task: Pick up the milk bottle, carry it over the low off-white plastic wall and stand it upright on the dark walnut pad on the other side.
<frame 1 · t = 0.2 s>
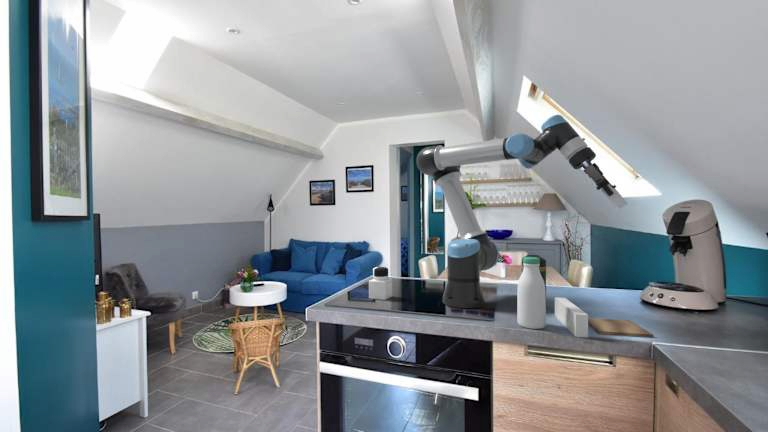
hand: (622, 205, 108), 35 cm above the table, tool tilted 35°, fingers open, 13 cm apart
milk bottle: (531, 326, 103), on the table
coffee jar: (533, 308, 122), on the table
low wall: (569, 325, 103), on the table
medicine bottle: (380, 298, 138), on the table
walnut pad: (615, 328, 100), on the table
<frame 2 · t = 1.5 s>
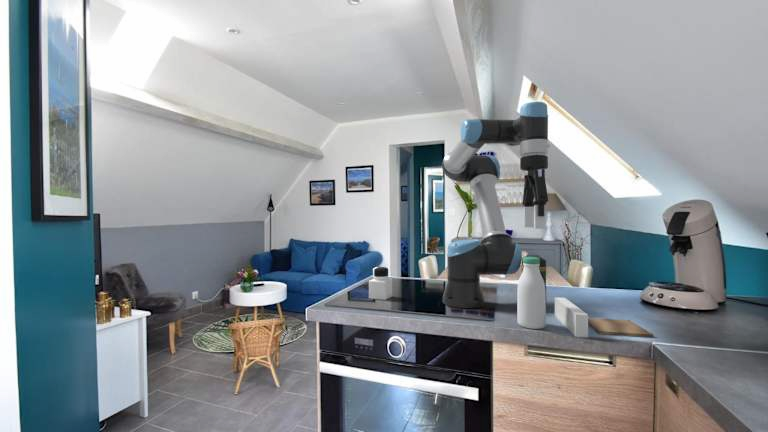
hand: (534, 228, 103), 29 cm above the table, tool pointing down, fingers open, 13 cm apart
nothing on the table moved.
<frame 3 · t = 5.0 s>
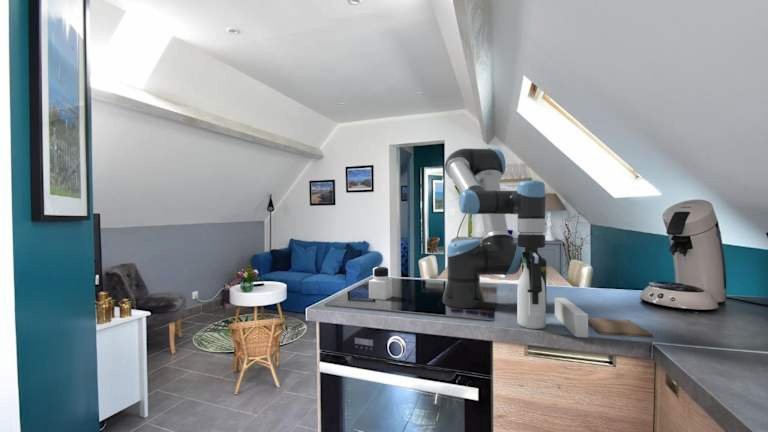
hand: (531, 311, 103), 4 cm above the table, tool pointing down, fingers closed on milk bottle, 8 cm apart
milk bottle: (531, 326, 103), on the table, touching gripper
coffee jar: (533, 308, 122), on the table, touching arm
everything else where it was.
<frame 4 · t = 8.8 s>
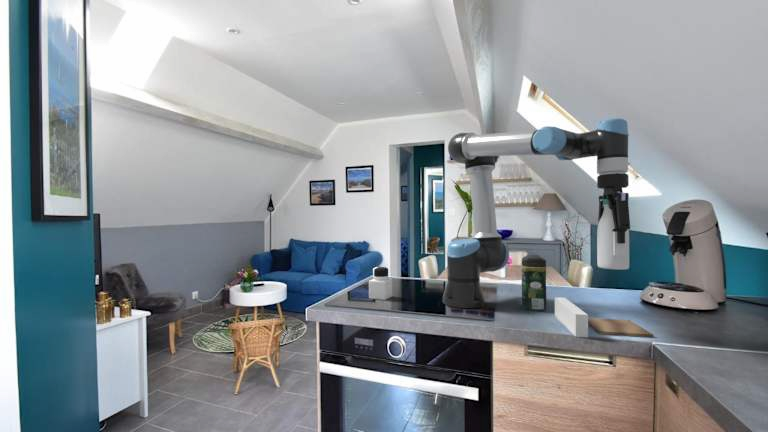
hand: (613, 253, 100), 21 cm above the table, tool pointing down, fingers closed on milk bottle, 8 cm apart
milk bottle: (613, 269, 100), point 17 cm above the table, touching gripper
coffee jar: (533, 308, 122), on the table
everything else where it was.
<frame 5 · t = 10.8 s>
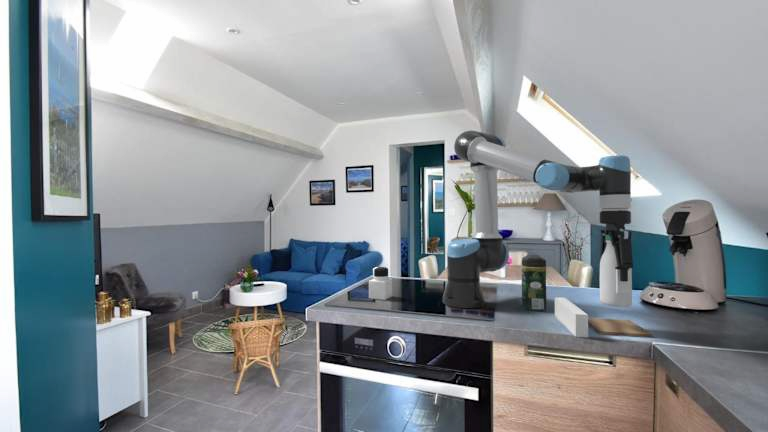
hand: (615, 289, 100), 11 cm above the table, tool pointing down, fingers closed on milk bottle, 8 cm apart
milk bottle: (615, 305, 100), point 7 cm above the table, touching gripper
everything else where it was.
when the fingers open (7 cm above the table, at t = 12.5 s): milk bottle drops 2 cm, resting on walnut pad.
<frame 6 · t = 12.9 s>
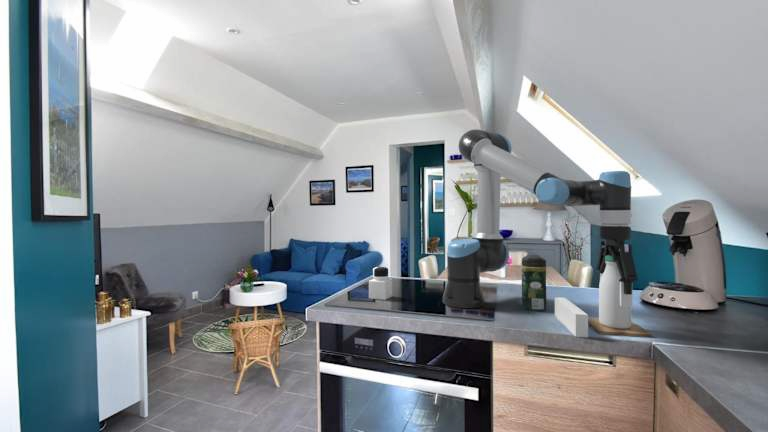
hand: (615, 300, 100), 8 cm above the table, tool pointing down, fingers open, 12 cm apart
milk bottle: (614, 326, 100), point 1 cm above the table, touching walnut pad
everything else where it was.
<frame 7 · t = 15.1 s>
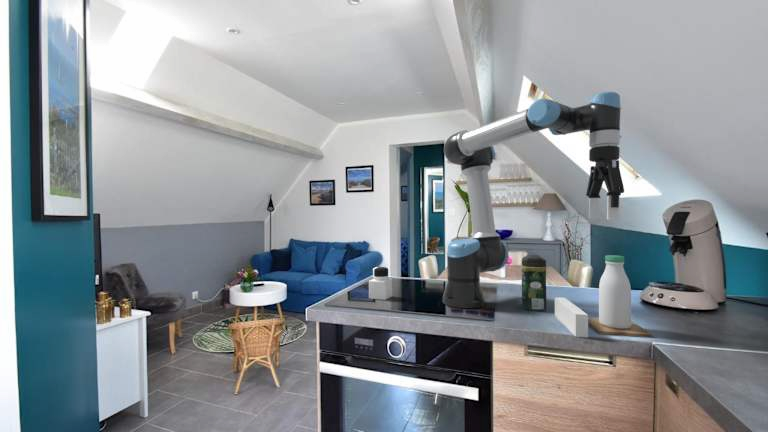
hand: (602, 219, 103), 31 cm above the table, tool pointing down, fingers open, 13 cm apart
nothing on the table moved.
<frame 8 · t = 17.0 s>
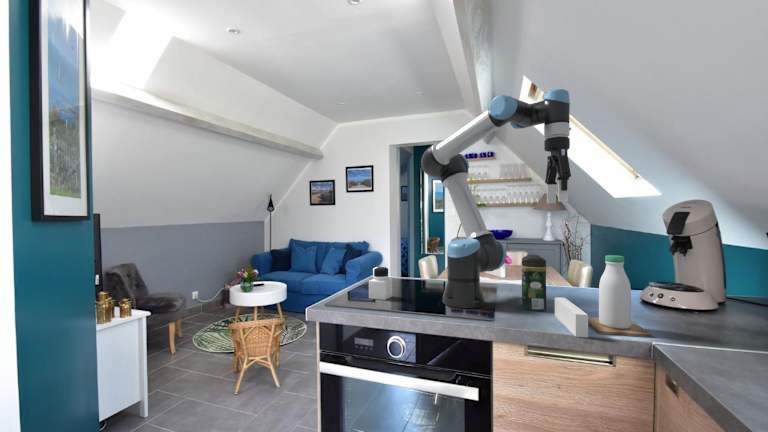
hand: (556, 202, 115), 37 cm above the table, tool pointing down, fingers open, 13 cm apart
nothing on the table moved.
at the end: milk bottle inside the target area on the walnut pad (0.1 cm from its centre), point 0.6 cm above the walnut pad's base; milk bottle tilted 0°; the gripper is holding nothing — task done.
